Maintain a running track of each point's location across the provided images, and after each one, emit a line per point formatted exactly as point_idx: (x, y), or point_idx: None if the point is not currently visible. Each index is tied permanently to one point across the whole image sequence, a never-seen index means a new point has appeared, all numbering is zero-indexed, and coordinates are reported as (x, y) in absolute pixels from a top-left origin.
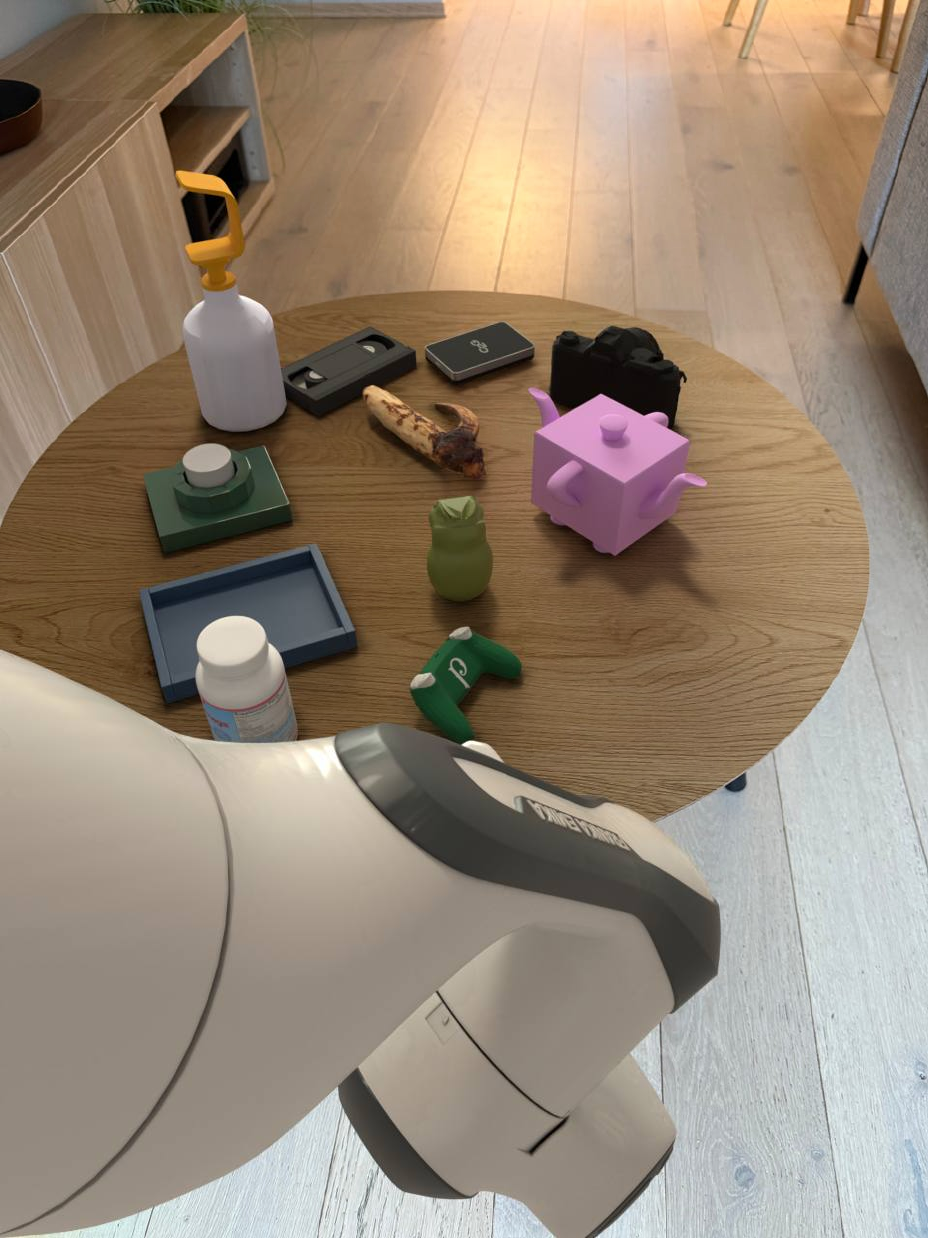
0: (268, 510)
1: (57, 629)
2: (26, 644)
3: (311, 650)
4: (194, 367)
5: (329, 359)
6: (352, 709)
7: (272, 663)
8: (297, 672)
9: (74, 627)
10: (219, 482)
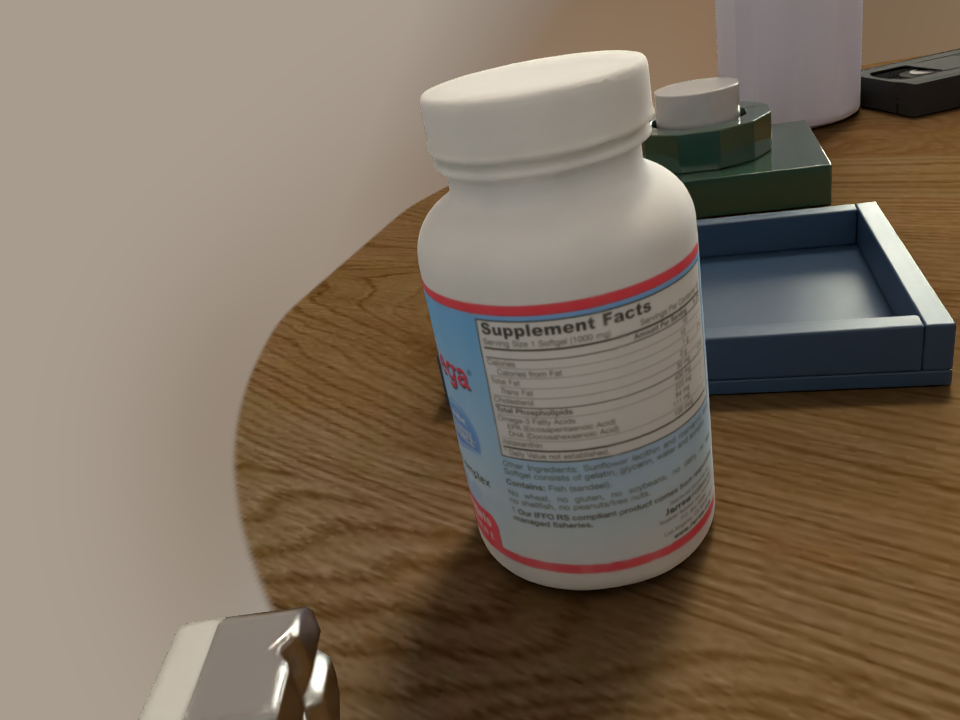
0: (786, 172)
1: (371, 291)
2: (318, 301)
3: (812, 356)
4: (720, 24)
5: (948, 58)
6: (910, 518)
7: (651, 189)
8: (761, 406)
9: (394, 291)
10: (706, 122)
